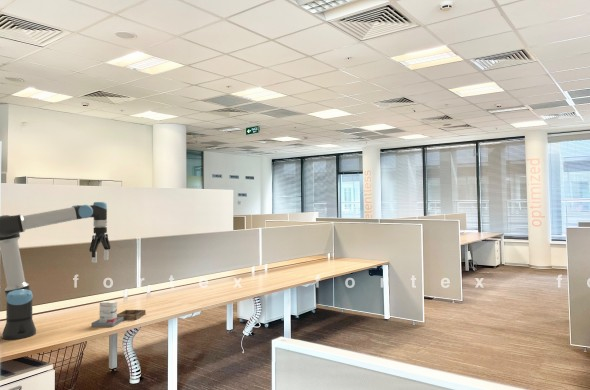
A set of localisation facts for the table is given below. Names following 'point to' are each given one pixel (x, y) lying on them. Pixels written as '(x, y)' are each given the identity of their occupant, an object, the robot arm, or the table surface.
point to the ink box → (108, 312)
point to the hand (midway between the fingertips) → (100, 261)
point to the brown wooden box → (132, 314)
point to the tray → (98, 324)
